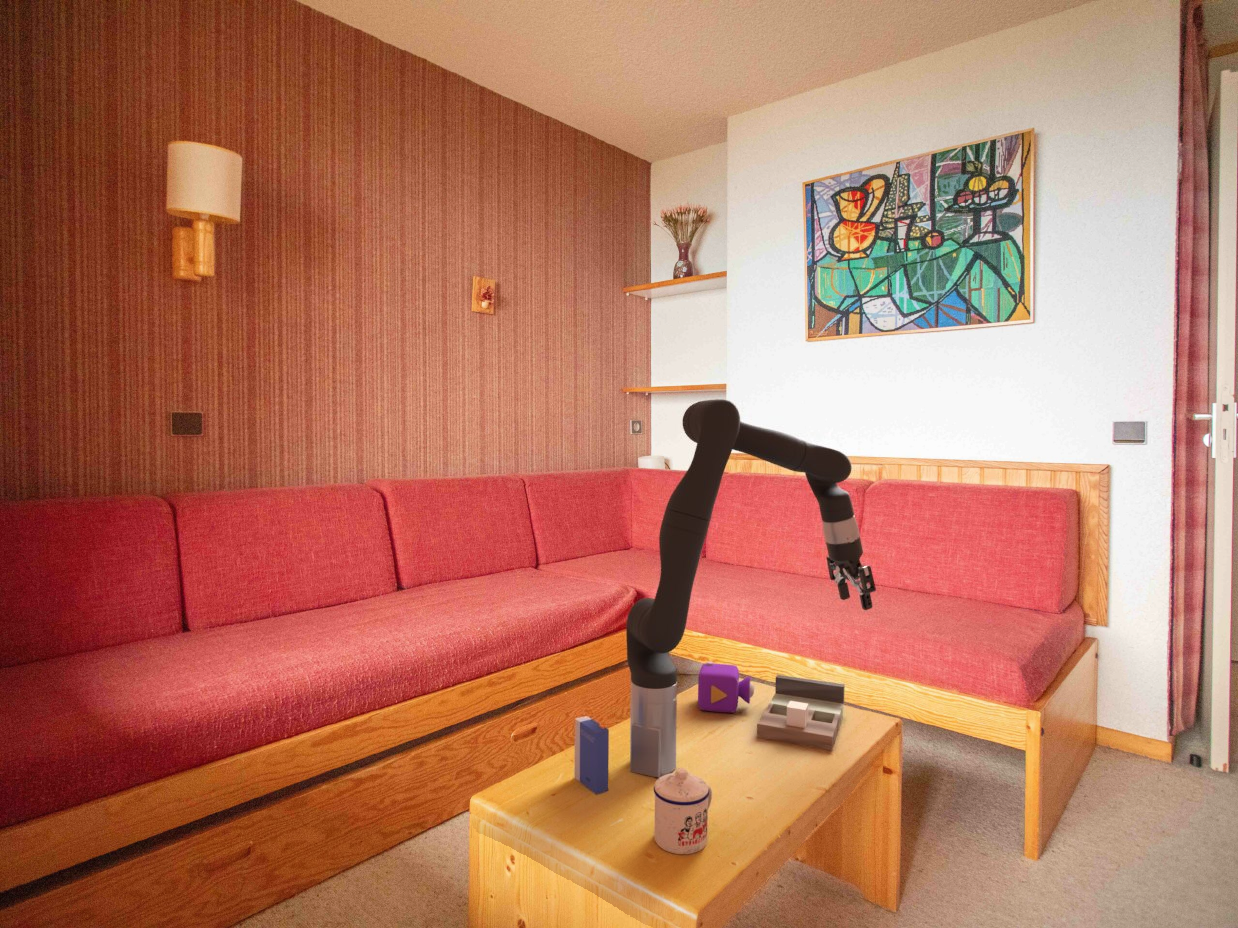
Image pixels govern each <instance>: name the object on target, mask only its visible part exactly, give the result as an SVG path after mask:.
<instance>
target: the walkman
mask: <svg viewBox="0 0 1238 928" xmlns="http://www.w3.org/2000/svg"><path fill="white" fill-rule="evenodd" d="M574 721H575V723H574V724H575V725H574V727H575V728H574V779H575V780H577V781H578V782H579V783H581V784H582V785H583V786H584V787H586V788H587V789H588V790H589V791H591V792H592V793H594V795H600V794H602V793H605V792H607V791H608V792H609V753H610V752H609V750H610V749H609V748H610V747H609V745H610V743H609V740H610V733H609V731H610V729H608V728H607V727H606V725H604V724H602V723H599V722H598V721H596V720H594V719H593V718H591V717H589V716H588V715H585V716H581V717H575V718H574Z"/></svg>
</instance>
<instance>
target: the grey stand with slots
mask: <svg viewBox="0 0 1238 928" xmlns="http://www.w3.org/2000/svg"><path fill="white" fill-rule="evenodd" d="M774 690H775V691H774V692H775V693H774V694H773V696H772V698H771V700H770V701H769V702H768V705H767V706H766V708H765V710H764V712H763V713H762V715H761V717H760V718H759V720H758V721H757V722H756V738H762V739H766V740H771V741H777V742H782V743H787V744H792V745H793V744H794V745H798V746H803V747H804V746H805V747H811V748H815V749H822V750H826V751H827V750H828V751H831V752H832V751H833V749H834V746H835V744H836V740H837V736H838V734H839V730H840V727H841V724H842V720H843V719H844V718H843V717H844V704H845V703H844V702H845V684H844V683H839V682H838V683H836V682H831V681H822V680H817V679H811V678H809V679H808V678H802V677H796V676H789V675H781V674H776V676H775V689H774ZM790 701H795V702H801V703H808V722H807V725H806V727H805V728H801V727H795V726H790V725H786V720H787V706H788V704H789V702H790Z"/></svg>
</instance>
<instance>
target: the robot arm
mask: <svg viewBox="0 0 1238 928" xmlns="http://www.w3.org/2000/svg"><path fill="white" fill-rule="evenodd" d="M682 429H683V431H684V434H685V435H686V437H688V439H689V440H691V441H692V442H693V443H696V447H695V450H694V454H693V458H692V460H691V462H690V465H689V467H688V468H687V470H686V472H685V474H684V475H683V477H682V478H681V480H680V481H679V482H678V484H677V485H676V487H675V488H674V490H673V491H672V493H671V495H670V497H669V499H668V501H667V504H666V507H665V510H664V514H663V518H662V520H661V525H660V528H659V536H658V543H659V544H658V545H659V546H658V547H659V558H660V577H659V580H658V581H659V582H658V583H659V584H658V586H657V589H656V594H655V596H654V598H652V597H645V598H641V599H639V600H637V601H636V602H635V603H633V605H632V606H631V608H630V610H629V611H628V614H627V619H626V627H625V629H626V630H625V631H626V632H625V635H626V657H627V658H626V660H627V665H628V668H629V672H630V721H629V722H630V729H629V730H630V732H629V733H630V739H629V741H630V743H629V744H630V745H629V746H630V747H629V750H630V755H629V756H630V757H629V760H630V761H629V762H630V763H629V764H630V767H629V768H630V772H631V773H635V774H640V775H644V776H649V777H654V778H658V779H659V778H660V777H662V776H664V775H666V774H670V773H673V771H675V769H676V767H677V715H678V714H677V711H678V710H677V706H678V705H677V703H678V702H677V701H678V700H677V698H678V697H677V696H678V669H677V666H676V665H675V664H674V661H673V659H672V657H671V655H670V652H672V651H674V649H676V648H677V646H678V645H679V644H680V642H681V640H683V636H684V635H685V634H684V633H685V632H686V631H685V630H686V626H687V621H688V615H689V609H690V608H689V607H690V604H691V603H690V602H691V596H692V591H693V585H694V581H695V578H696V575H697V571H698V568H699V567H698V566H699V563H700V558H701V555H702V552H703V547H704V545H705V542H706V538H707V535H708V531H709V527H710V525H711V519H712V516H713V511H714V506H715V504H716V500H717V497H718V494H719V490H720V486H721V482H722V478H723V475H724V472H725V469H726V467H727V463H728V461H729V458H730V457H731V454H732V451H736V452H740V453H743V454H746V455H749V456H751V457H754V458H757V459H759V460H762V461H765V462H767V463H770V464H773V465H775V466H779V467H781V468H784V469H787V470H789V471H792V472H797V473H804V475H805V477H806V481H807V482H808V484H809V487H810V489H811V491H812V493H813V495H814V497H815V498H816V501H817V503H818V506H819V507H818V508H819V511H820V517H821V523H822V531H823V536H824V541H825V545H826V551H827V554H828V556H826V563H827V568H828V573H829V579H830V581H834V583H835V585H836V586H837V589H838V595H839V599H840V600H842V601H845V600H849V599H850V598H851V593H850V589H849V585H848V582H850V583H851V585H852V586H853V587H854V588H856V589H857V592H858V593H859V594H858V595H859V598H860V599H859V600H860V604H861V608H862V610H864V611H868V610H871V609H872V608H873V601H872V595H871V594H872V593H874V592H877V588H876V584H875V579H874V575H873V571H872V567H871V565H869V564H867V565H865V566H864V565H863V564H862V562H861V560H860V559H861V557H862V556H863V554H864V549H863V545H862V539H861V534H860V530H859V526H858V522H857V520H856V517H855V516H856V515H855V511H854V506H853V503H852V499H851V495H850V493H849V492H848V491H847V490H845V489H842V488H841V487H840V486H839V485H838V484H839V483H842V482H844V481H845V480H847V479H849V476H850V475H851V473H852V469H853V468H852V462H851V461H850V458H849V457H848V456H847V455H846V454H845V453H844V452H842V451H840V450H838V449H834V448H831V447H828V446H823V445H818V444H814V443H811V442H807V441H805V440H803V439H801V438H798V437H796V436H793V435H792V434H788V433H785V432H783V431H782V432H781V431H778V430H774V429H770V428H766V427H761V426H756V425H752V424H750V423H746V422H742V421H741V415H740V412H739V409H738V407H737V406H736V405H735V404H734V403H733V402H732V401H730V400H728V399H724V398H722V399H720V398H719V399H718V398H716V399H708V400H707V399H706V400H700V401H698V402H695V403H692V404H691V405H690V406H688V407H687V409H686V410H685V411H684V413H683V416H682ZM834 571H835V572H834ZM847 581H848V582H847Z"/></svg>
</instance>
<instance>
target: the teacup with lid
mask: <svg viewBox="0 0 1238 928" xmlns="http://www.w3.org/2000/svg"><path fill="white" fill-rule="evenodd" d="M653 793H654V840H655V842H656V844H657V845H658V847H660V848H661V849H662V850H664V851H666V852H668V853H671V854H675V855H676V854H677V855H691V854H695V853H698V852H699V851H701V850H703V849H704V848H705V847H706V845H707V843H708V818H709V817H708V812H709V811H708V810H709V809H710V806H711V803H712V799H713V790H712V787H710V786H709V785H708V784H707V782H706V781H705V780H704V779H703V778H701V777H699V776H697V775H695V774H691V773H688V770H687V769H686V768H683V767H681V768H677V769H676V770H675V772H670V773H668V774H665V775H662V776H661V777H660V778H658V779H657V780H656V781H655V782H654V785H653Z"/></svg>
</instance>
